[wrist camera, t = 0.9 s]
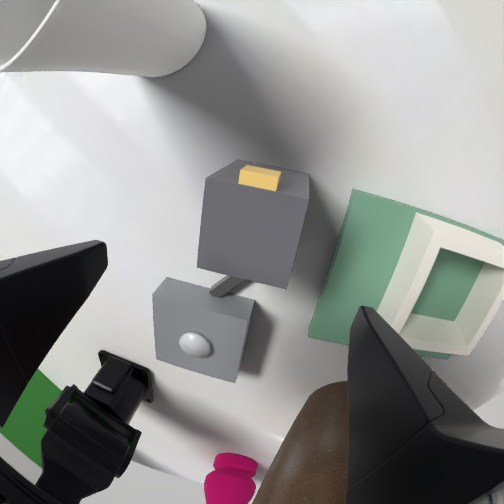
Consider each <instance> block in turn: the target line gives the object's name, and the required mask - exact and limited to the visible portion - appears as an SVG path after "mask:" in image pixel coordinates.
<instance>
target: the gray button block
mask: <svg viewBox="0 0 504 504" xmlns="http://www.w3.org/2000/svg"><path fill="white" fill-rule="evenodd" d="M244 280H245V279H241V278H237V277H233V276H229V275H227V276H225V277H224V278H223V279H221V280H220V281H219V282H217V283H216V284H215V285H213V286H212V287H211V289H209V288H205V287H201V286H197V285H194V284H190V283H186V282H182V281H179V280H175V279H172V278H168V277H167V278H166V279H165V280H164V281H163V282H162V283H161V285H160V286H159V287H158V288H157V289H156V291H155V292H154V293H153V294H152V296H153V318H154V335H155V348H156V359H158V360H161V361H164V362H166V363H169V364H172V365H175V366H178V367H181V368H185V369H188V370H191V371H194V372H197V373H201V374H204V375H208V376H211V377H215V378H218V379H222V380H225V381H229V382H233V383H235V382H236V379H237V375H238V372H239V369H240V365H241V362H242V357H243V353H244V348H245V343H246V339H247V334H248V329H249V325H250V320H251V315H252V311H253V306H254V301H255V300H252V299H248V298H244V297H240V296H236V295H232V294H228V293H227V292H228V291H230V290H231V289H233V288H234V287H236V286H237V285H238V284H240V283H241V282H243V281H244Z"/></svg>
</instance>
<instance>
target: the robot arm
mask: <svg viewBox="0 0 504 504" xmlns="http://www.w3.org/2000/svg"><path fill="white" fill-rule="evenodd" d="M107 265H108V258H107V246H106V244H105V242H102V241H99V240H93V241H88V242H83V243H78V244H74V245H69V246H64V247H60V248H55V249H50V250H46V251H41V252H37V253H33V254H28V255H24V256H20V257H17V258H11V259H7V260H3V261H0V427H1V428H3V426H4V425H5V423H6V421H7V420H8V418H9V416H10V414H11V412H12V410H13V409H14V407H15V405H16V403H17V402H18V400H19V398H20V397H21V395H22V393H23V392H24V390H25V388H26V387H27V385H28V382H29V381H30V380H31V378H32V377H33V375H34V373H35V372H36V370H37V369H38V367H39V366H40V364H41V363H42V361H43V360H44V358H45V357H46V355H47V354H48V352H49V351H50V349H51V348H52V346H53V345H54V343H55V342H56V340H57V339H58V338H59V336H60V335H61V333H62V332H63V331H64V329H65V328H66V326H67V325H68V324H69V322H70V321H71V320H72V318H73V317H74V315H75V314H76V313H77V311H78V310H79V309H80V307H81V306H82V305H83V304H84V302H85V301H86V299H87V298H88V297H89V295H90V294H91V292H92V290H93V289H94V287H95V286H96V284H97V282H98V281H99V279H100V278H101V276H102V275H103V273H104V272H105V270H106V268H107ZM98 355H99V359H100V362H101V366H102V367H101V369H100V370H99V371H98V373H97V374H96V375H95V377H94V378H93V379H92V382H91V383H90V385H89V386H88V387H87V389H86V390H85V392H84V393H83V392H82V391H80V390H79V389H78V387H77V386H75V385H74V384H73V385H72V387H69V386H66V387H65V388H64V390H63V391H62V392H61V394H60V395H59V396H58V397H57V398H56V399H55V400H54V401H53V402H52V403H51V404H50V405H49V406H48V407H47V408H46V410H45V415H46V418H45V423H44V425H43V427H44V428H45V429H46V430H47V432H46V433H45V435H44V436H43V438H42V440H41V461H42V474H41V476H40V477H39V479H38V481H37V482H36V484H35V485H34V484H33V483H32V482H30V481H29V480H28V479H26V478H25V477H24V476H23V475H21V474H20V473H19V472H18V471H17V470H15V469H14V468H13V467H12V466H11V465H10V464H9V463H7V462H6V461H5V460H4V459H3V458H2V457H1V456H0V504H79V503H80V501H81V499H83V498H85V497H88V496H90V495H92V494H95V493H97V492H100V491H102V490H104V489H106V488H108V487H109V486H110V484H111V483H112V481H113V479H114V477H116V478H119V477H120V476H121V475H122V474H123V473H124V472H125V470H126V468H127V467H128V465H129V463H130V461H131V459H132V456H133V453H134V451H135V448H136V446H137V443H138V441H139V438H140V436H141V433H142V432H141V431H139V430H136V429H134V428H133V427H131V426H130V425H128V424H129V423H130V421H131V419H132V417H133V415H134V414H135V412H136V410H137V408H138V406H139V405H140V403H141V401H142V400H144V401H146V402H149V403H152V402H153V394H152V387H151V380H150V373H149V371H148V370H147V369H146V368H144V367H141V366H139V365H136V364H133V363H131V362H128V361H126V360H124V359H121V358H119V357H116V356H114V355H112V354H109V353H107V352H105V351H103V350H100V351H99V353H98ZM347 373H348V410H349V442H348V475H347V491H346V504H504V429H500V428H495V427H493V426H490V425H488V424H487V423H485V422H484V421H483V420H482V419H481V418H480V417H479V416H478V415H477V414H476V413H474V411H472V410H471V409H470V408H469V407H468V406H467V405H466V404H465V403H464V402H463V401H462V400H461V399H460V398H459V397H458V396H457V395H456V394H455V393H454V392H453V391H452V390H451V389H450V388H449V387H448V386H447V385H446V384H445V383H444V382H443V381H442V380H441V379H440V378H439V377H438V376H437V374H436V373H435V372H434V371H432V369H431V368H430V367H429V366H428V365H427V364H426V363H425V361H424V360H423V359H422V358H421V357H420V356H419V355H418V354H417V353H416V352H415V351H414V350H413V349H412V348H411V347H410V346H409V344H408V343H407V342H406V341H405V340H404V339H403V338H402V337H401V336H400V335H399V334H398V333H397V332H396V331H395V330H394V329H393V328H392V327H391V326H390V325H389V324H388V323H387V322H386V321H385V320H384V319H383V318H382V317H381V316H380V315H379V314H378V313H377V312H376V311H375V310H374V309H373V308H372V307H368V306H360V307H359V309H358V311H357V313H356V316H355V318H354V320H353V322H352V325H351V328H350V337H349V353H348V369H347ZM70 404H71V405H70Z"/></svg>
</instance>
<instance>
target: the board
mask: <svg viewBox="0 0 504 504" xmlns="http://www.w3.org/2000/svg"><path fill="white" fill-rule="evenodd" d="M503 300H504V240H502V239H500V238H497V237H495V236H492V235H490V234H488V233H485V232H483V231H480V230H478V229H475V228H472V227H470V226H467V225H465V224H462V223H459V222H456V221H454V220H451V219H448V218H445V217H443V216H440V215H437V214H434V213H431V212H428V211H425V210H422V209H419V208H416V207H413V206H410V205H407V204H403V203H400V202H397V201H394V200H390V199H387V198H384V197H380V196H377V195H373V194H370V193H366V192H363V191H359V190H356V189H353V190H352V194H351V197H350V201H349V205H348V208H347V212H346V216H345V219H344V223H343V226H342V230H341V233H340V236H339V240H338V243H337V246H336V249H335V253H334V256H333V259H332V262H331V265H330V268H329V272H328V275H327V278H326V281H325V284H324V287H323V290H322V292H321V295H320V298H319V301H318V304H317V307H316V310H315V312H314V315H313V318H312V321H311V324H310V326H309V331H308V337H310V338H315V339H320V340H325V341H330V342H335V343H341V344H346V345H349V337H350V328H351V325H352V322H353V320H354V318H355V316H356V313H357V311H358V309H359V307H360V306H368V307H372V308H373V309H374V310H375V311H376V312H377V313H378V314H379V315H380V316H381V317H382V318H383V319H384V320H385V321H386V322H387V323H388V324H389V325H390V326H391V327H392V328H393V329H394V330H395V331H396V332H397V333H398V334H399V335H400V336H401V337H402V338H403V339H404V340H405V341H406V342H407V343H408V344H409V346H410V347H411V348H412V349H413V350H414V351H415V352H416V353H417V354H418V355H419V356H423V357H432V358H440V359H448V358H449V356H450V355H451V354H457V355H466V356H469V355H470V353H471V352H472V350H473V349H474V348H475V346H476V345H477V343H478V342H479V340H480V338H481V337H482V335H483V334H484V332H485V331H486V329H487V327H488V326H489V324H490V323H491V321H492V319H493V317H494V316H495V314H496V312H497V311H498V309H499V307H500V305H501V303H502V302H503Z"/></svg>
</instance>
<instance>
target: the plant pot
mask: <svg viewBox="0 0 504 504" xmlns="http://www.w3.org/2000/svg"><path fill="white" fill-rule="evenodd" d="M348 442H349V410H348V381H343V382H337V383H332V384H329V385H326V386H324V387H322V388H320V389H318V390H316V391H315V392H313V393H312V394H311V395H310V396H309V398H308V400H307V401H306V403H305V404H304V406H303V408H302V409H301V411H300V413H299V414H298V416H297V418H296V419H295V421H294V423H293V425H292V426H291V428H290V430H289V432H288V434H287V435H286V437H285V439H284V441H283V443H282V445H281V447H280V449H279V451H278V453H277V454H276V456H275V458H274V460H273V462H272V464H271V466H270V468H269V470H268V472H267V474H266V476H265V478H264V480H263V482H262V484H261V486H260V488H259V490H258V493H257V495H256V497H255V499H254V501H253V503H252V504H346V491H347V475H348Z"/></svg>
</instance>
